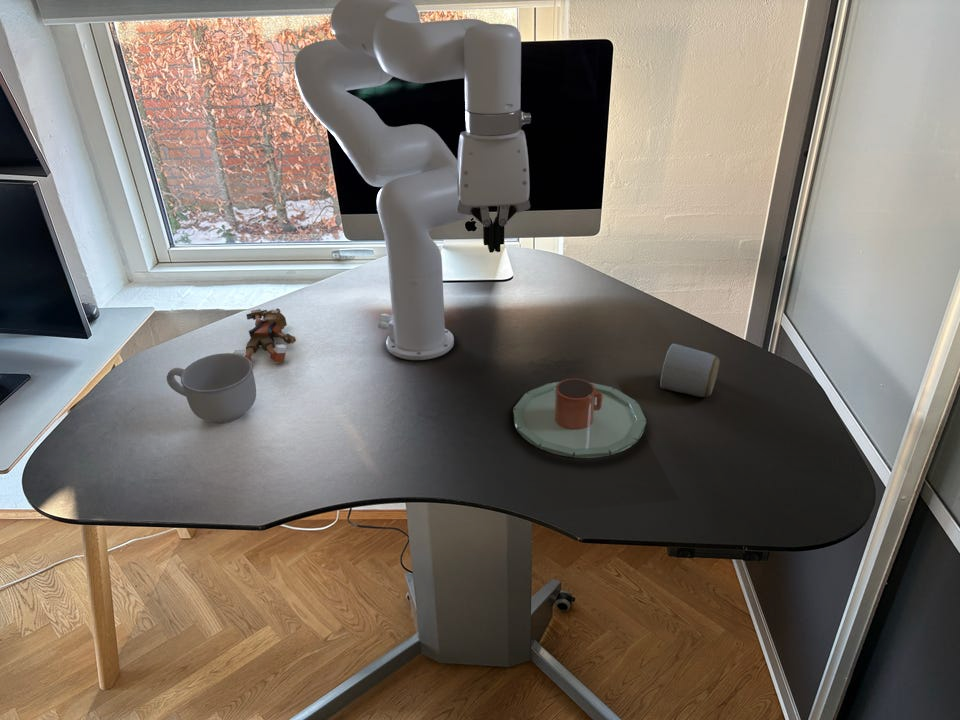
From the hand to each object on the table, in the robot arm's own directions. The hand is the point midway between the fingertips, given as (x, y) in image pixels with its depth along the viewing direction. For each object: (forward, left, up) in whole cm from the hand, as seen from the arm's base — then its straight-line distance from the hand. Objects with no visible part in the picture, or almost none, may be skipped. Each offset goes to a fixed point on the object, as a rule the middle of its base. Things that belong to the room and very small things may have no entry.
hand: (493, 248), depth 108 cm
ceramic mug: (+28, +16, -25) cm, 41 cm away
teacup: (-37, -26, -25) cm, 52 cm away
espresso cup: (+16, -3, -24) cm, 29 cm away
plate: (+16, -3, -25) cm, 30 cm away
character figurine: (-46, -5, -25) cm, 53 cm away
